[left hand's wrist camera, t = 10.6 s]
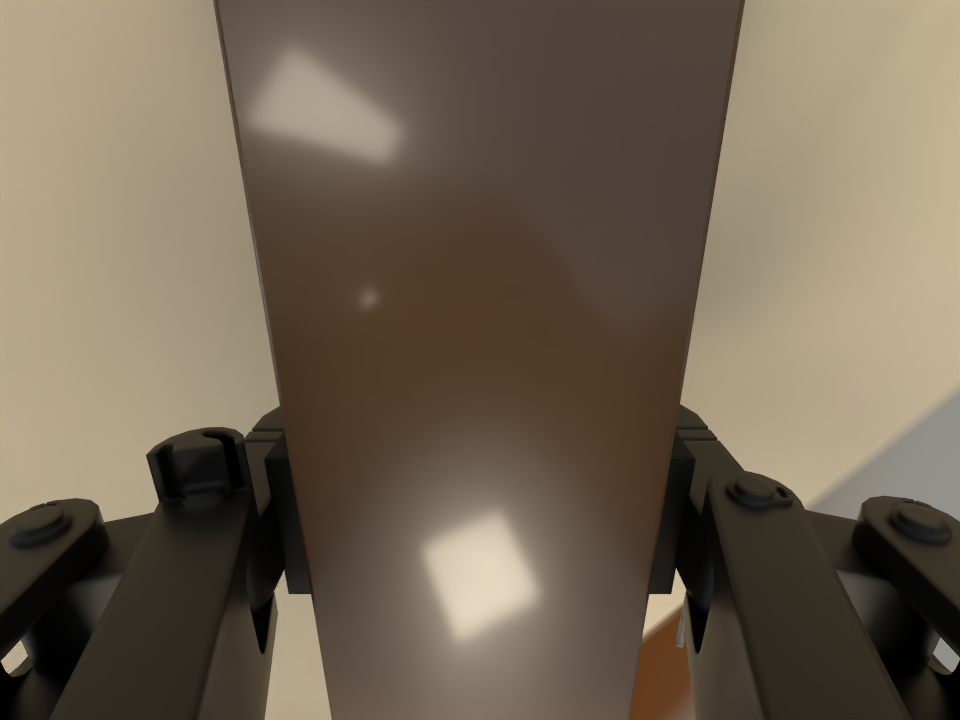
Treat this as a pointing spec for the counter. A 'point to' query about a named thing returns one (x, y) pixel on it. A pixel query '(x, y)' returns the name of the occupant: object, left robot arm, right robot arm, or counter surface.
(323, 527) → the beam
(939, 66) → the counter surface
